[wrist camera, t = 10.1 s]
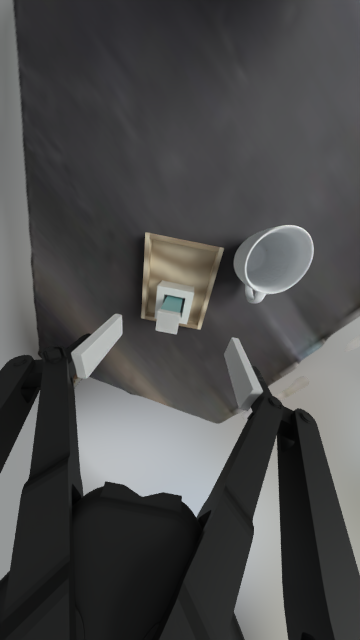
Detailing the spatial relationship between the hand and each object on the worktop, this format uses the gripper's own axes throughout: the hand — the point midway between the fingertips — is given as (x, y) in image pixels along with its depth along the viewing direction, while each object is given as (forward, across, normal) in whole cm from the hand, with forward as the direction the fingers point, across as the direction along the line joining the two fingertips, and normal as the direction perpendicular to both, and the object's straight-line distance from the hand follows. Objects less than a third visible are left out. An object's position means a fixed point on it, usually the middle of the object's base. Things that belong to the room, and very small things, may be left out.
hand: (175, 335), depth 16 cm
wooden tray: (+26, -2, -1) cm, 26 cm away
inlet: (+25, -2, -5) cm, 25 cm away
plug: (+22, -2, -5) cm, 22 cm away
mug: (+26, +15, +8) cm, 31 cm away
